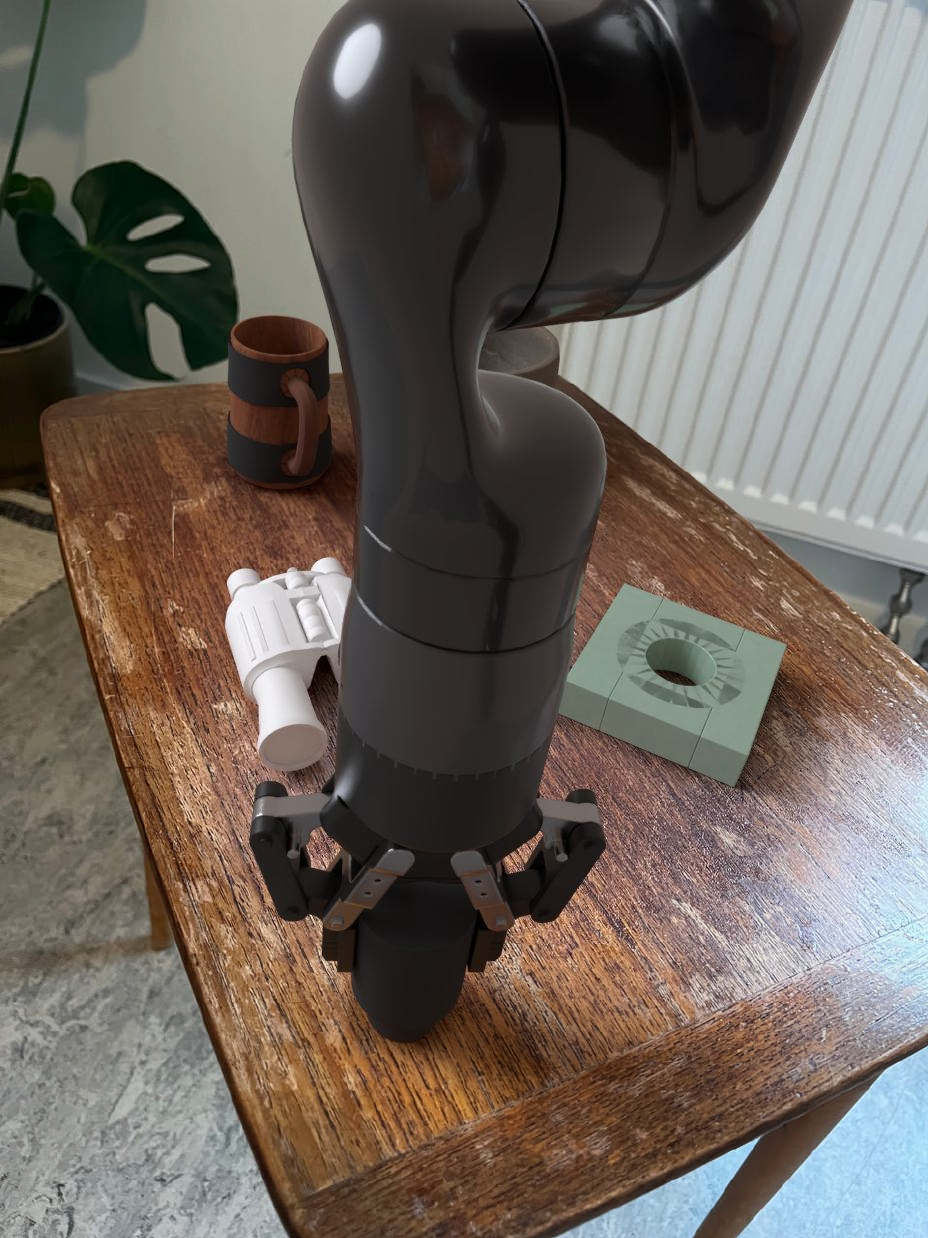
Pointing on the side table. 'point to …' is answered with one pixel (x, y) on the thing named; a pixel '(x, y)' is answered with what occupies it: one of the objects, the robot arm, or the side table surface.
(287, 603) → the binoculars
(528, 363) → the bowl
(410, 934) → the stopper
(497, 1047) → the side table surface
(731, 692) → the green block with hole
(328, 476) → the side table surface
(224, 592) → the side table surface
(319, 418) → the mug
